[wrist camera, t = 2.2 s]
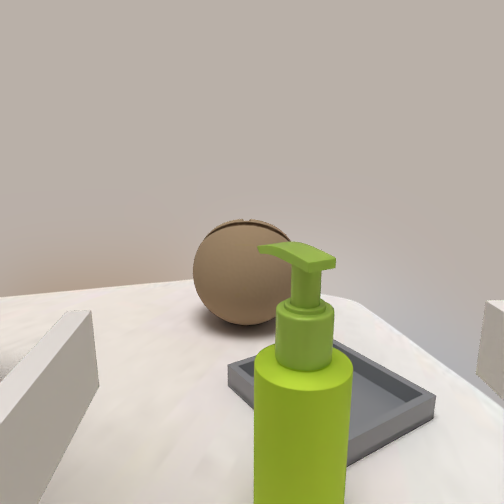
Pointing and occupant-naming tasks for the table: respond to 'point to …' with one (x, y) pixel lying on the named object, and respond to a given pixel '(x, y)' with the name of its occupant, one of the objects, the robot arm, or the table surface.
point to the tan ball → (241, 272)
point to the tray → (362, 402)
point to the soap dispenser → (301, 392)
